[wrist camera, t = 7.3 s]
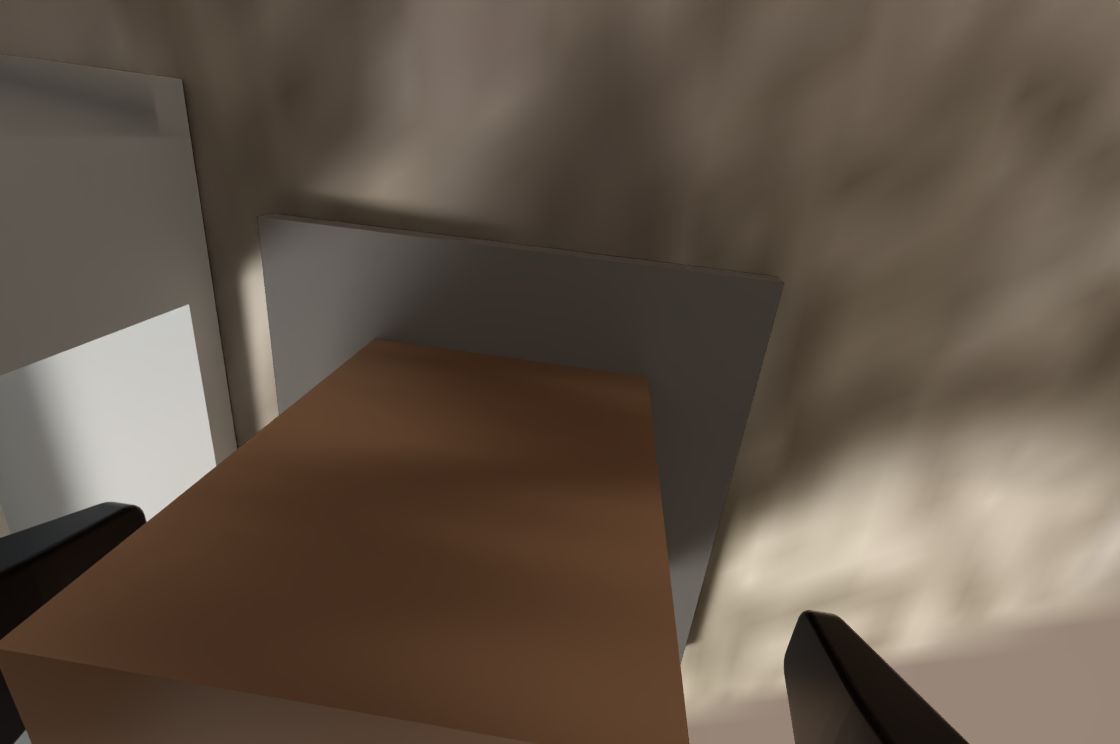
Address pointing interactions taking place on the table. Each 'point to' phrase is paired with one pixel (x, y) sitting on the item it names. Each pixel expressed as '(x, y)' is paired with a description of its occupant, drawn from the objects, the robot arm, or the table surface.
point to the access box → (102, 297)
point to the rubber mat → (540, 338)
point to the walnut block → (386, 575)
